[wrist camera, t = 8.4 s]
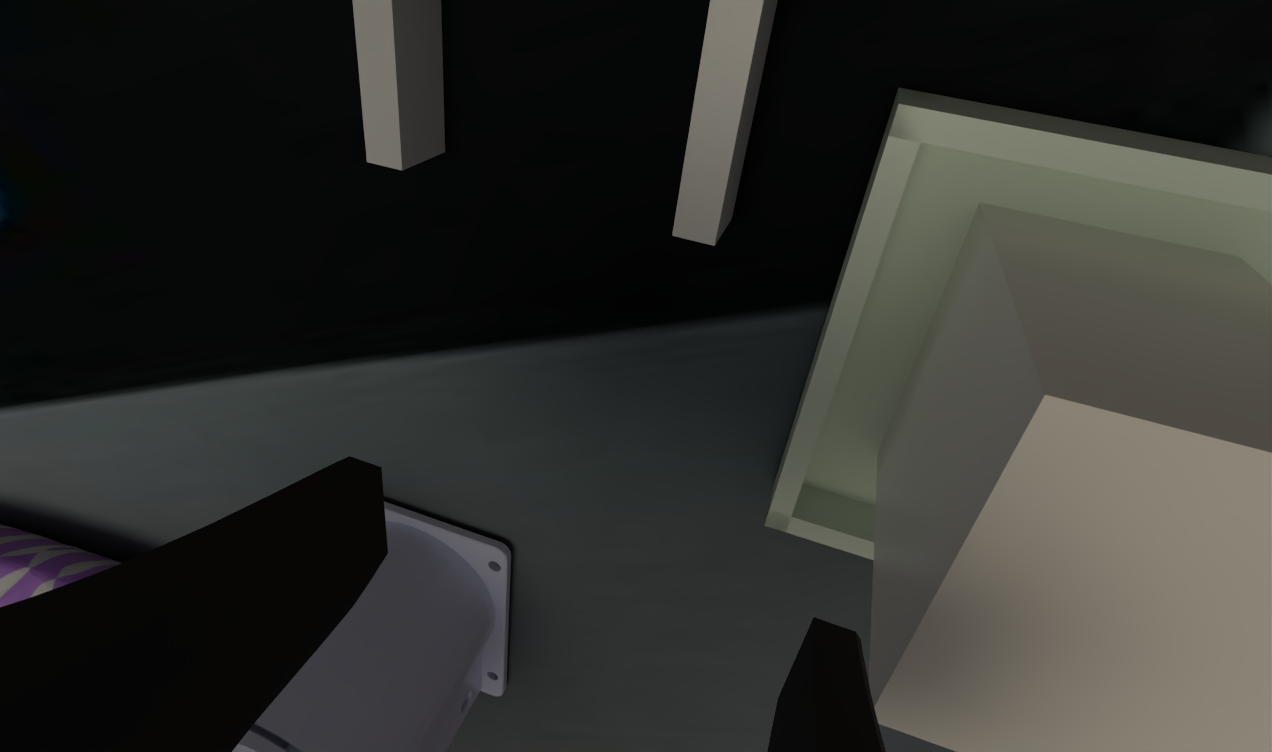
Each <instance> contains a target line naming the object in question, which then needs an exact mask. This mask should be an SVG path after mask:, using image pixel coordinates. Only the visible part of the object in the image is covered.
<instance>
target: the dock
mask: <svg viewBox="0 0 1272 752" xmlns="http://www.w3.org/2000/svg"><path fill="white" fill-rule="evenodd" d="M777 1H778V0H710V6H709V12H708V19H707V25H706V31H705V37H704V43H703V49H702V55H701V62H700V68H699V74H698V80H697V86H696V92H695V98H694V105H693V111H692V117H691V123H690V129H689V135H688V141H687V148H686V154H685V160H684V166H683V172H682V178H681V184H680V190H679V197H678V203H677V209H676V215H675V221H674V227H673V233H672V236H676V237H680V238H684V239H688V240H692V241H697V242H701V243H705V244H709V245H713V246H715V244H716V243H717V241H718V240H719V238H720V236H721V235H722V233H723V232H724V230H725V229H726V227H727V225H728V224H729V222H730V221H731V219H732V215H733V210H734V206H735V201H736V196H737V191H738V187H739V182H740V177H741V172H742V168H743V163H744V158H745V153H746V149H747V144H748V139H749V134H750V130H751V125H752V120H753V115H754V111H755V106H756V101H757V96H758V92H759V87H760V82H761V77H762V73H763V68H764V63H765V58H766V53H767V49H768V44H769V39H770V34H771V30H772V25H773V20H774V15H775V11H776V6H777ZM353 10H354V22H355V33H356V44H357V55H358V67H359V78H360V89H361V100H362V112H363V123H364V134H365V145H366V157H367V162H369V163H373V164H377V165H382V166H386V167H390V168H394V169H398V170H404V169H407V168H409V167H411V166H414V165H416V164H418V163H421V162H423V161H425V160H428V159H430V158H432V157H435V156H437V155H439V154H442V153H444V152H445V128H444V91H443V53H442V16H441V0H353Z"/></svg>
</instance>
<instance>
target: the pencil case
mask: <svg viewBox="0 0 1272 752" xmlns="http://www.w3.org/2000/svg"><path fill="white" fill-rule="evenodd" d="M118 564H121V562H118V561H115V560H112V559H109V558H106V557H103V556H100V555H97V554H94V553H91V552H88V551H86V550H83V549H80V548H77V547H74V546H70V545H66V544H62V543H59V542H57V541H54V540H51V539H48V538H46V537H43V536H40V535H36V534H33V533H29V532H25V531H22V530H19V529H16V528H12V527H9V526H5V525H2V524H0V607H3V606H6V605H9V604H12V603H15V602H18V601H21V600H25V599H27V598H30V597H33V596H36V595H39V594H42V593H45V592H47V591H50V590H53V589H55V588H58V587H61V586H64V585H66V584H69V583H72V582H74V581H77V580H80V579H83V578H85V577H88V576H91V575H93V574H96V573H98V572H101V571H103V570H106V569H108V568H111V567H114V566H116V565H118Z"/></svg>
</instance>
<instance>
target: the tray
mask: <svg viewBox="0 0 1272 752" xmlns="http://www.w3.org/2000/svg"><path fill="white" fill-rule="evenodd" d="M979 203H985V204H990V205H994V206H999V207H1004V208H1009V209H1014V210H1018V211H1023V212H1028V213H1033V214H1037V215H1042V216H1047V217H1052V218H1057V219H1061V220H1066V221H1071V222H1076V223H1080V224H1085V225H1090V226H1095V227H1099V228H1104V229H1109V230H1114V231H1119V232H1123V233H1128V234H1133V235H1138V236H1142V237H1147V238H1152V239H1157V240H1162V241H1166V242H1171V243H1176V244H1181V245H1185V246H1190V247H1195V248H1200V249H1205V250H1209V251H1214V252H1219V253H1224V254H1228V255H1233V256H1238V257H1240V258H1242V259H1243V260H1244V261H1245V262H1246V263H1247V264H1249V265H1250V266H1251V267H1252V268H1253V269H1254V270H1255V271H1257V272H1258V273H1259V274H1260V275H1261V276H1262V277H1263V278H1265V279H1266V280H1267V281H1268V282H1269V283H1270V284H1271V285H1272V157H1270V156H1264V155H1259V154H1254V153H1248V152H1243V151H1237V150H1232V149H1227V148H1221V147H1216V146H1210V145H1205V144H1200V143H1194V142H1189V141H1184V140H1178V139H1173V138H1167V137H1162V136H1157V135H1151V134H1146V133H1140V132H1135V131H1130V130H1124V129H1119V128H1114V127H1108V126H1103V125H1097V124H1092V123H1087V122H1081V121H1076V120H1070V119H1065V118H1060V117H1054V116H1049V115H1044V114H1038V113H1033V112H1027V111H1022V110H1017V109H1011V108H1006V107H1000V106H995V105H990V104H984V103H979V102H974V101H968V100H963V99H957V98H952V97H947V96H941V95H936V94H930V93H925V92H920V91H914V90H909V89H904V88H898V91H897V94H896V97H895V101H894V104H893V107H892V110H891V113H890V117H889V120H888V123H887V126H886V129H885V132H884V136H883V139H882V142H881V145H880V148H879V152H878V155H877V158H876V161H875V164H874V167H873V171H872V174H871V177H870V180H869V183H868V186H867V190H866V193H865V196H864V199H863V202H862V206H861V209H860V212H859V215H858V218H857V221H856V225H855V228H854V231H853V234H852V237H851V241H850V244H849V247H848V250H847V253H846V256H845V260H844V263H843V266H842V269H841V272H840V275H839V279H838V282H837V285H836V288H835V291H834V295H833V298H832V301H831V304H830V307H829V310H828V314H827V317H826V320H825V323H824V326H823V330H822V333H821V336H820V339H819V342H818V345H817V349H816V352H815V355H814V358H813V361H812V364H811V368H810V371H809V374H808V377H807V380H806V384H805V387H804V390H803V393H802V396H801V399H800V403H799V406H798V409H797V412H796V415H795V419H794V422H793V425H792V428H791V431H790V434H789V438H788V441H787V444H786V447H785V450H784V453H783V457H782V460H781V463H780V466H779V469H778V473H777V476H776V479H775V482H774V487H773V491H772V495H771V500H770V504H769V508H768V513H767V517H766V521H765V525H764V526H767V527H771V528H774V529H777V530H780V531H783V532H786V533H789V534H793V535H796V536H799V537H802V538H805V539H808V540H812V541H815V542H818V543H821V544H824V545H827V546H830V547H834V548H837V549H840V550H843V551H846V552H849V553H852V554H856V555H859V556H862V557H865V558H868V559H871V560H874V534H875V508H876V482H877V456H878V451H879V449H880V446H881V444H882V441H883V439H884V436H885V434H886V431H887V429H888V426H889V424H890V422H891V419H892V417H893V414H894V412H895V409H896V407H897V404H898V402H899V399H900V397H901V395H902V392H903V390H904V387H905V385H906V382H907V380H908V377H909V375H910V372H911V370H912V368H913V365H914V363H915V360H916V358H917V355H918V353H919V350H920V348H921V345H922V343H923V341H924V338H925V336H926V333H927V331H928V328H929V326H930V323H931V321H932V318H933V316H934V314H935V311H936V309H937V306H938V304H939V301H940V299H941V296H942V294H943V291H944V289H945V287H946V284H947V282H948V279H949V277H950V274H951V272H952V269H953V267H954V264H955V262H956V259H957V257H958V255H959V252H960V250H961V247H962V245H963V242H964V240H965V237H966V235H967V232H968V230H969V228H970V225H971V223H972V220H973V218H974V215H975V213H976V210H977V208H978V205H979Z"/></svg>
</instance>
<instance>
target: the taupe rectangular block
mask: <svg viewBox="0 0 1272 752" xmlns="http://www.w3.org/2000/svg"><path fill="white" fill-rule="evenodd" d="M869 687H870V691H871V696H872V700H873V704H874V708H875V712H876V716H877V721H878V724H881V725H884V726H887V727H890V728H892V729H895V730H898V731H901V732H903V733H906V734H909V735H912V736H915V737H917V738H920V739H923V740H926V741H928V742H931V743H934V744H937V745H940V746H942V747H945V748H948V749H951V750H953V751H956V752H1272V285H1271V284H1270V283H1269V282H1268V281H1267V280H1266V279H1265V278H1263V277H1262V276H1261V275H1260V274H1259V273H1258V272H1257V271H1255V270H1254V269H1253V268H1252V267H1251V266H1250V265H1249V264H1247V263H1246V262H1245V261H1244V260H1243V259H1242V258H1240V257H1238V256H1233V255H1228V254H1224V253H1219V252H1214V251H1209V250H1205V249H1200V248H1195V247H1190V246H1185V245H1181V244H1176V243H1171V242H1166V241H1162V240H1157V239H1152V238H1147V237H1142V236H1138V235H1133V234H1128V233H1123V232H1119V231H1114V230H1109V229H1104V228H1099V227H1095V226H1090V225H1085V224H1080V223H1076V222H1071V221H1066V220H1061V219H1057V218H1052V217H1047V216H1042V215H1037V214H1033V213H1028V212H1023V211H1018V210H1014V209H1009V208H1004V207H999V206H994V205H990V204H985V203H979V205H978V208H977V210H976V213H975V215H974V218H973V220H972V223H971V225H970V228H969V230H968V232H967V235H966V237H965V240H964V242H963V245H962V247H961V250H960V252H959V255H958V257H957V259H956V262H955V264H954V267H953V269H952V272H951V274H950V277H949V279H948V282H947V284H946V287H945V289H944V291H943V294H942V296H941V299H940V301H939V304H938V306H937V309H936V311H935V314H934V316H933V318H932V321H931V323H930V326H929V328H928V331H927V333H926V336H925V338H924V341H923V343H922V345H921V348H920V350H919V353H918V355H917V358H916V360H915V363H914V365H913V368H912V370H911V372H910V375H909V377H908V380H907V382H906V385H905V387H904V390H903V392H902V395H901V397H900V399H899V402H898V404H897V407H896V409H895V412H894V414H893V417H892V419H891V422H890V424H889V426H888V429H887V431H886V434H885V436H884V439H883V441H882V444H881V446H880V449H879V451H878V456H877V482H876V508H875V534H874V560H873V586H872V612H871V638H870V664H869Z"/></svg>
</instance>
